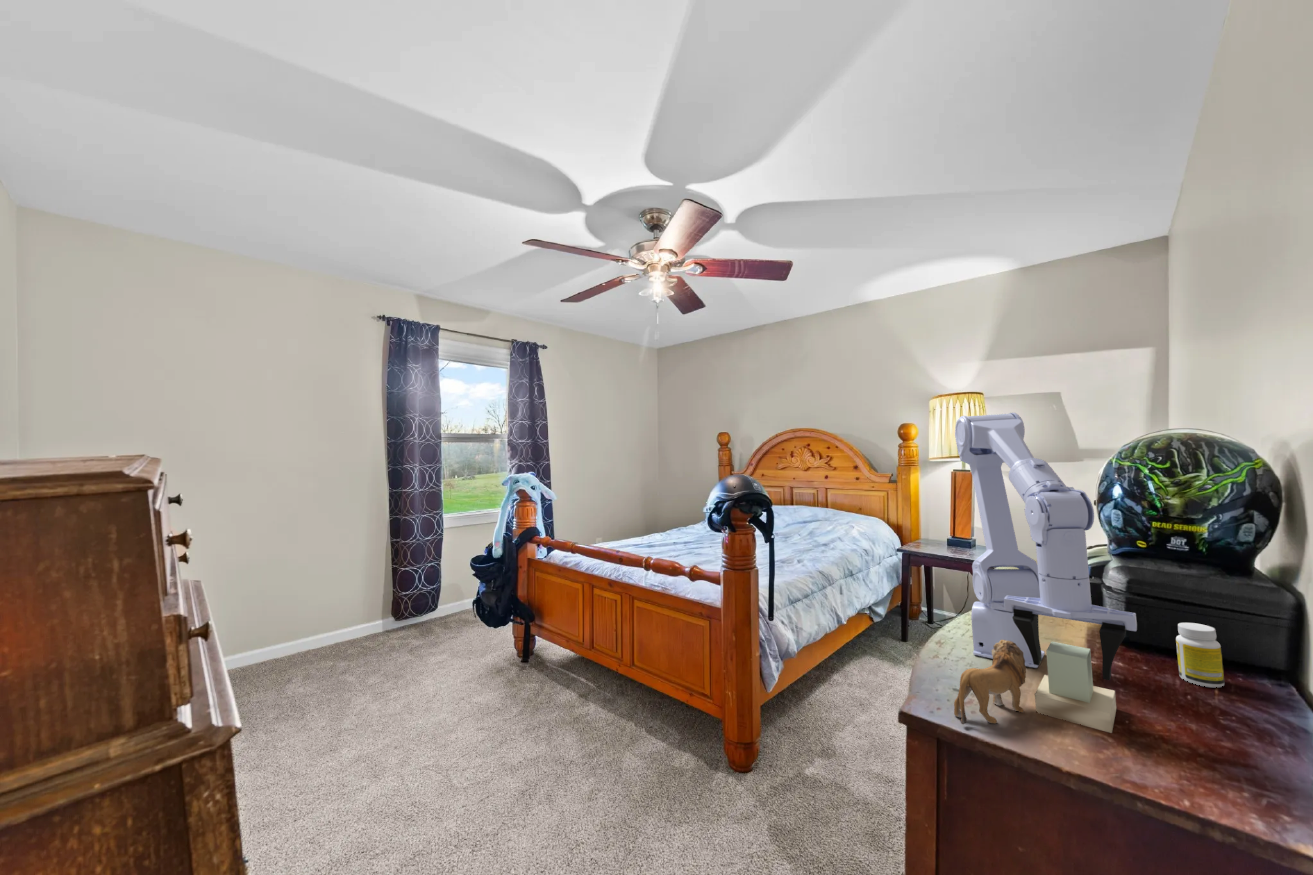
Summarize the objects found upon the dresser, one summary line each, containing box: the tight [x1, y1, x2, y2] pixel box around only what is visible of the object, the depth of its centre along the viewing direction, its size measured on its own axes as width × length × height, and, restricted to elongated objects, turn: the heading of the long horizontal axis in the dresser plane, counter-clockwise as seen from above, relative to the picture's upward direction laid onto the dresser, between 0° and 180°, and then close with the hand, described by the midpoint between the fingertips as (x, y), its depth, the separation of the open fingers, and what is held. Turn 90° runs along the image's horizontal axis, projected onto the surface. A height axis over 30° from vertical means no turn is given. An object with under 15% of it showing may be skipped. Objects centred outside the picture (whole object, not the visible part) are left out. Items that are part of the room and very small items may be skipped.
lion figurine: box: [953, 640, 1027, 725], centre depth 71 cm, size 15×5×9 cm, turn 119°
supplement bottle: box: [1175, 622, 1225, 689], centre depth 77 cm, size 5×5×8 cm
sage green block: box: [1045, 641, 1094, 703], centre depth 71 cm, size 4×4×6 cm
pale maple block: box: [1034, 674, 1117, 734], centre depth 70 cm, size 8×8×3 cm
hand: (1071, 669), depth 71 cm, fingers open, 7 cm apart
